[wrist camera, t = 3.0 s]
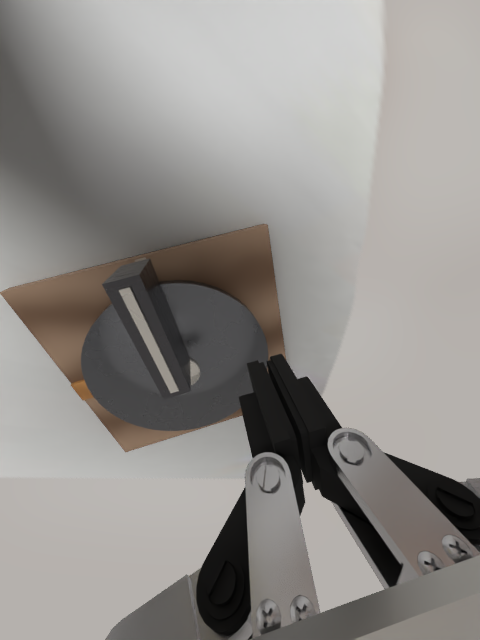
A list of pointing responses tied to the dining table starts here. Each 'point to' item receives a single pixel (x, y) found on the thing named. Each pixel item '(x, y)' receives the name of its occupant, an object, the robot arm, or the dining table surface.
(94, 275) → the dial base plate
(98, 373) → the dial
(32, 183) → the dining table surface
